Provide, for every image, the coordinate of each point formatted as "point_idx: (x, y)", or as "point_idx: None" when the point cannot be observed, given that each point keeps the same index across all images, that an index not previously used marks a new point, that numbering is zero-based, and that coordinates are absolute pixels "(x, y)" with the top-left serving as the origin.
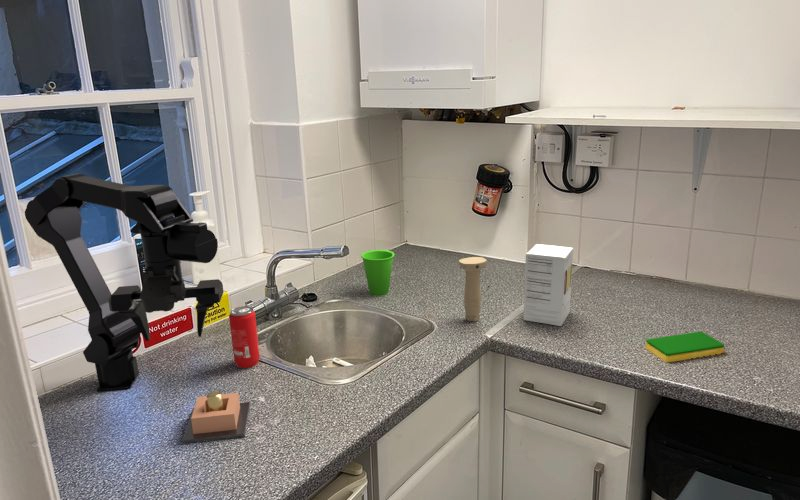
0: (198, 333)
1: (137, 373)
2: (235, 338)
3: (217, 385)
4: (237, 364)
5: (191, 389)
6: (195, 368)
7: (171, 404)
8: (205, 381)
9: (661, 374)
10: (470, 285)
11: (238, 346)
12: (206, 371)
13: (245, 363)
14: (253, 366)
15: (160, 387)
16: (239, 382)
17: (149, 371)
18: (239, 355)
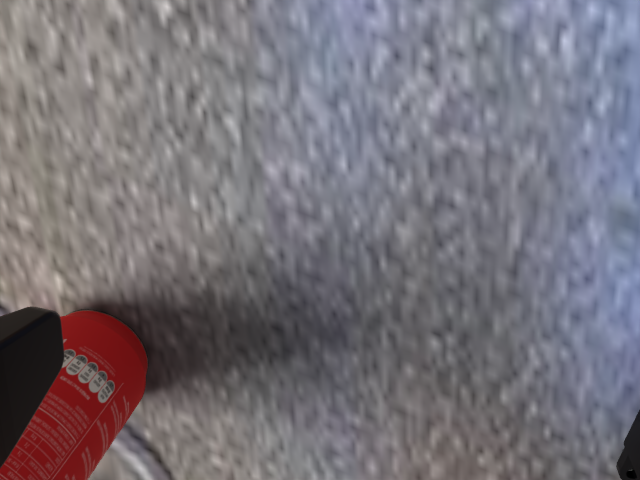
0: (18, 329)
1: (635, 438)
2: (30, 441)
3: (219, 199)
4: (131, 342)
5: (351, 208)
6: (339, 403)
7: (462, 76)
8: (283, 263)
9: None
10: None
11: (49, 395)
12: (285, 356)
13: (81, 320)
14: (68, 314)
15: (515, 291)
16: (111, 187)
17: (561, 463)
18: (82, 359)
